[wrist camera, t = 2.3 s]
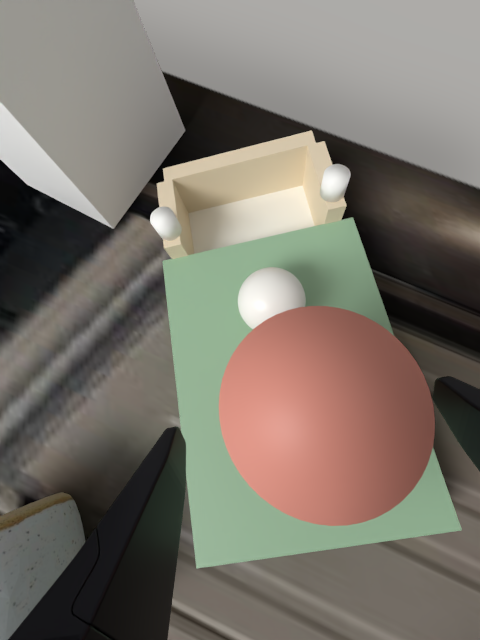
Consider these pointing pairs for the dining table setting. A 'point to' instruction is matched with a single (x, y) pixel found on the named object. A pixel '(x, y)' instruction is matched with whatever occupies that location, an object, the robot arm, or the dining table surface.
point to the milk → (83, 102)
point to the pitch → (205, 382)
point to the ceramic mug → (35, 554)
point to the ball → (269, 295)
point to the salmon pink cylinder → (326, 415)
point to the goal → (249, 195)
